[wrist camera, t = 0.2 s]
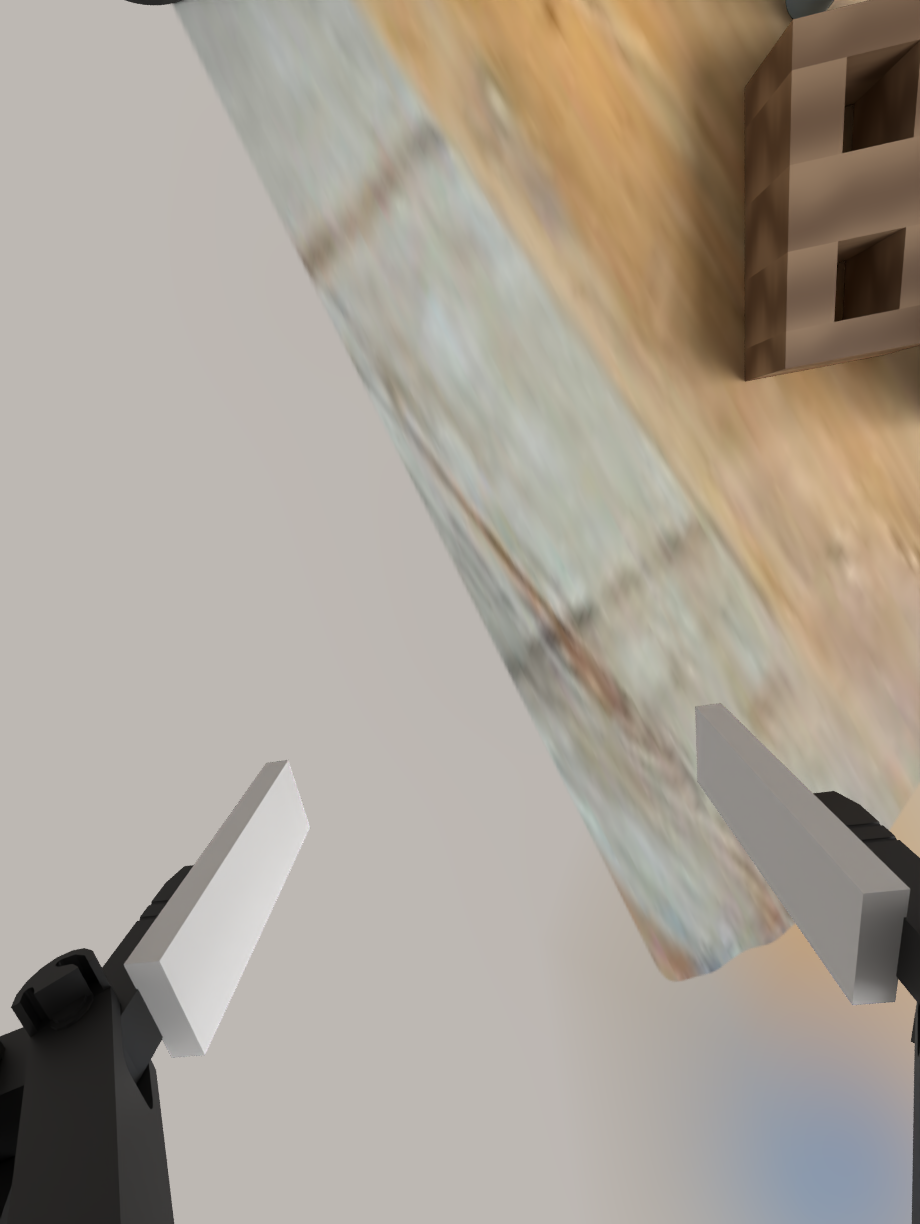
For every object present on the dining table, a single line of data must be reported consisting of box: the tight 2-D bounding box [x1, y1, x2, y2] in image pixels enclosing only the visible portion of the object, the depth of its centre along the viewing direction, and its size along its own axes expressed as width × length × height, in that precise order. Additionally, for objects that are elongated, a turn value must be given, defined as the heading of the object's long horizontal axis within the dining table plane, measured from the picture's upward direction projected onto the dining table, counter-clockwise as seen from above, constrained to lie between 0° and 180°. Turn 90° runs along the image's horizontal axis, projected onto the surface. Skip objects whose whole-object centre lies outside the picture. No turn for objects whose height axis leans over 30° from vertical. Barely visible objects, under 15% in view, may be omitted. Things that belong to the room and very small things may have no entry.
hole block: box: [745, 0, 920, 381], centre depth 31 cm, size 18×10×5 cm, turn 10°
